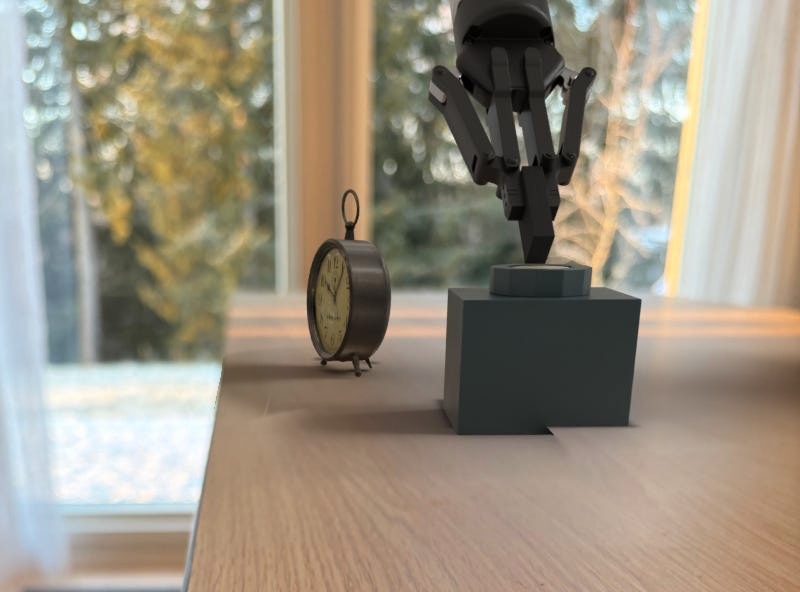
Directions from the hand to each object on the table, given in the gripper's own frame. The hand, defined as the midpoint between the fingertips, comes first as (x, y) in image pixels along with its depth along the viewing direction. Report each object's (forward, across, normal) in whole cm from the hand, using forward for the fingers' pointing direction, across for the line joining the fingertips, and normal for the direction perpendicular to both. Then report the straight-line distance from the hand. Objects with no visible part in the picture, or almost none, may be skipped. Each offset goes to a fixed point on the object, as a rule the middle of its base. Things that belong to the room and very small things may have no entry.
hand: (539, 250), depth 75 cm
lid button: (+2, 0, -2) cm, 3 cm away
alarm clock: (-9, +11, -27) cm, 30 cm away
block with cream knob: (+9, 0, -8) cm, 12 cm away
